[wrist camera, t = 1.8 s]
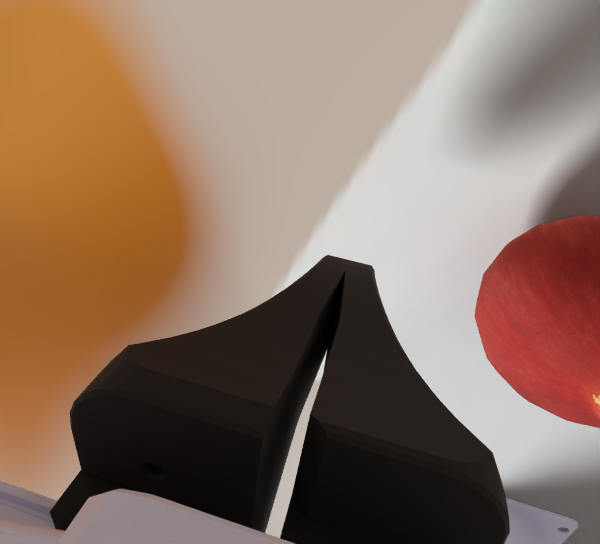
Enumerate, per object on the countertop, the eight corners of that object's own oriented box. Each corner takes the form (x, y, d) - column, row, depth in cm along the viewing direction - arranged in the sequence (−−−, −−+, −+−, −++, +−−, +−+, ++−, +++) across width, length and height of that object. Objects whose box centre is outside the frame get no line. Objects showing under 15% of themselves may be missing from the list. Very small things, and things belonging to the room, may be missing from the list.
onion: (691, 226, 14) (934, 415, 7) (570, 343, 17) (662, 549, 10) (529, 152, 14) (622, 273, 7) (438, 282, 17) (447, 448, 11)
